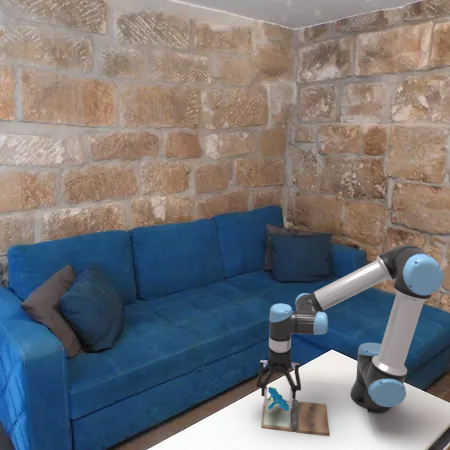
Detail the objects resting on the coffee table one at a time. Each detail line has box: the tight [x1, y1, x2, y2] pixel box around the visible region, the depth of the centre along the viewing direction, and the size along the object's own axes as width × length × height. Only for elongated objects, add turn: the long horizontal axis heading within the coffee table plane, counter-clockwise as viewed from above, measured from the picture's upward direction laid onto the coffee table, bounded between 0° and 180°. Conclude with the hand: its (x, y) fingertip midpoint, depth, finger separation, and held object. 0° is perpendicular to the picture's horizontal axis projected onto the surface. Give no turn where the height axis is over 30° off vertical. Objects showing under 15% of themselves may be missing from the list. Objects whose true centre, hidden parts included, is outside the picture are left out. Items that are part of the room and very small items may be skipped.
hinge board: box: [261, 398, 330, 437], centre depth 157 cm, size 23×16×2 cm
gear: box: [267, 386, 289, 411], centre depth 156 cm, size 11×6×10 cm
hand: (278, 404), depth 157 cm, fingers closed on gear, 8 cm apart
